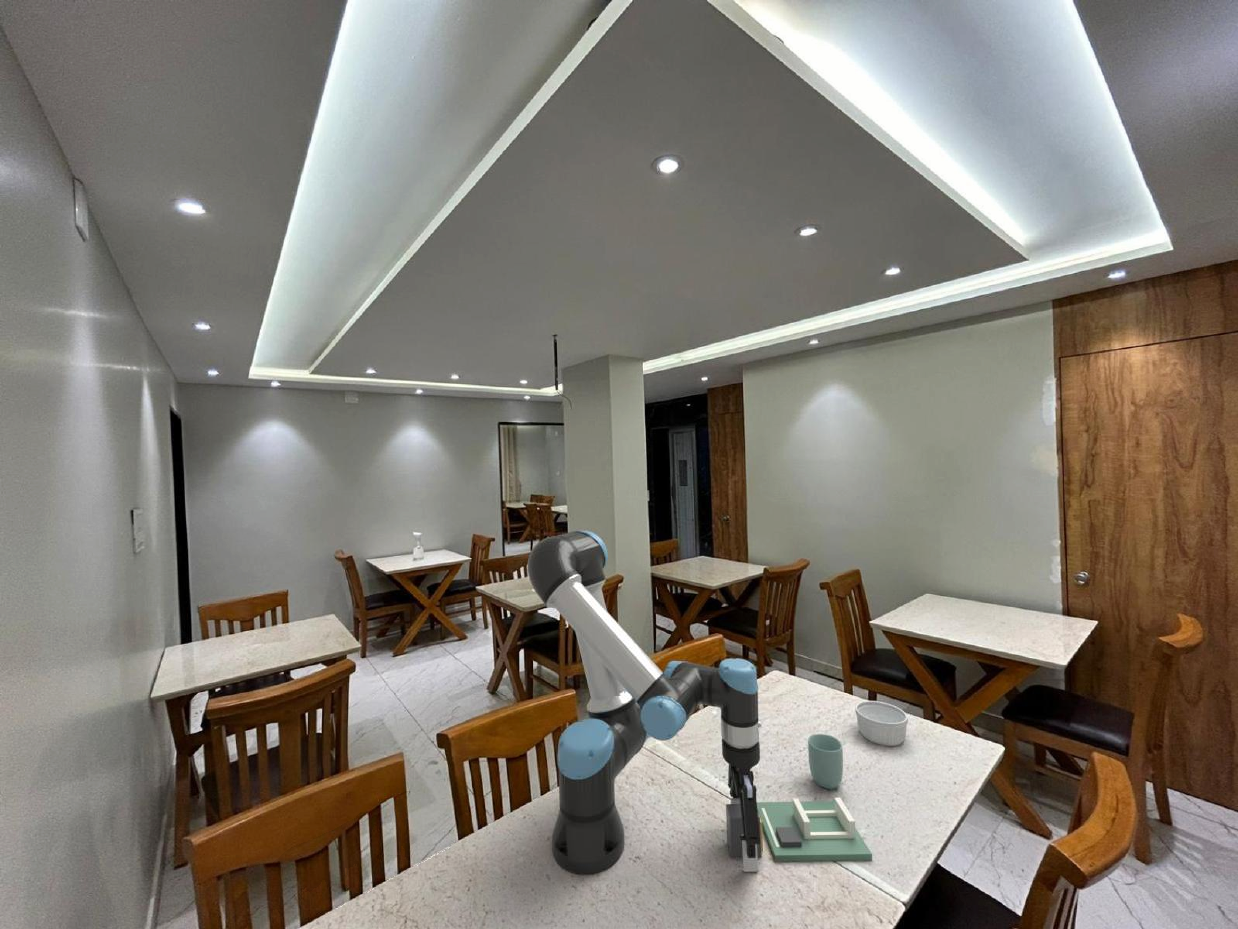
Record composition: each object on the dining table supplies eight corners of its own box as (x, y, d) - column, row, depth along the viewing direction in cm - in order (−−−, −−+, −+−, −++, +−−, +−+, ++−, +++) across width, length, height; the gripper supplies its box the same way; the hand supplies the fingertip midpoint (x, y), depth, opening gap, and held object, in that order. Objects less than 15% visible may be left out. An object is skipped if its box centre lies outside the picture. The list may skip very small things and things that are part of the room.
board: (775, 861, 94) (774, 837, 94) (755, 807, 109) (754, 787, 109) (872, 860, 94) (871, 836, 94) (838, 806, 109) (837, 785, 109)
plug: (731, 858, 96) (729, 818, 96) (727, 842, 100) (725, 804, 100) (764, 858, 95) (763, 817, 96) (758, 842, 99) (757, 803, 100)
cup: (847, 795, 112) (846, 753, 113) (812, 792, 114) (811, 750, 114) (839, 774, 120) (837, 734, 120) (806, 771, 122) (805, 732, 122)
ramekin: (860, 719, 146) (859, 696, 146) (910, 731, 138) (909, 707, 138) (852, 739, 135) (851, 715, 135) (906, 755, 127) (905, 729, 127)
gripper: (775, 773, 86) (779, 897, 86) (745, 711, 109) (748, 809, 109) (734, 774, 87) (738, 898, 86) (712, 711, 109) (715, 810, 109)
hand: (744, 849), depth 97 cm, fingers open, 9 cm apart
